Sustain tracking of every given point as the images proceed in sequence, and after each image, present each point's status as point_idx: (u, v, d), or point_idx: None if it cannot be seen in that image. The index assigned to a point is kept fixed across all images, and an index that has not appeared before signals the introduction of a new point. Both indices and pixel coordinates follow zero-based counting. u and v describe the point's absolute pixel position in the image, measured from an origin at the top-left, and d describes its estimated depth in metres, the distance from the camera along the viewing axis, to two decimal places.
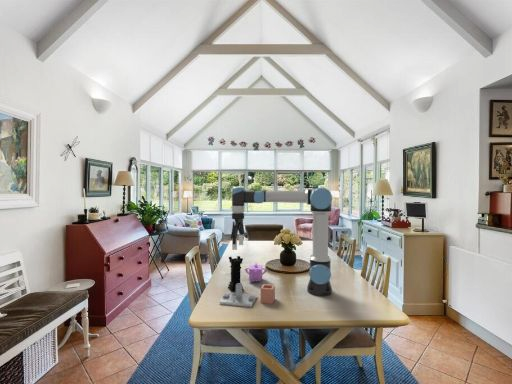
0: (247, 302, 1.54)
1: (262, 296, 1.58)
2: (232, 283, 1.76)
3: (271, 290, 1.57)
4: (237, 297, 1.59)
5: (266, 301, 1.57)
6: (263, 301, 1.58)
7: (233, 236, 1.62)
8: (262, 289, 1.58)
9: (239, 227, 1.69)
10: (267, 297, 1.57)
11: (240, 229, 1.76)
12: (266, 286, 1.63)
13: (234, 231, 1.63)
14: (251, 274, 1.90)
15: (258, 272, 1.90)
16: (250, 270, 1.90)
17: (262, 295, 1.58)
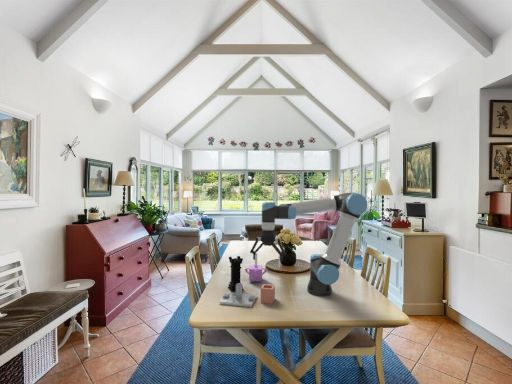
0: (247, 302, 1.54)
1: (262, 296, 1.58)
2: (232, 283, 1.76)
3: (271, 290, 1.57)
4: (237, 297, 1.59)
5: (266, 301, 1.57)
6: (263, 301, 1.58)
7: None
8: (262, 289, 1.58)
9: (262, 244, 1.59)
10: (267, 297, 1.57)
11: None
12: (266, 286, 1.63)
13: (253, 246, 1.62)
14: (251, 274, 1.90)
15: (258, 272, 1.90)
16: (250, 270, 1.90)
17: (262, 295, 1.58)
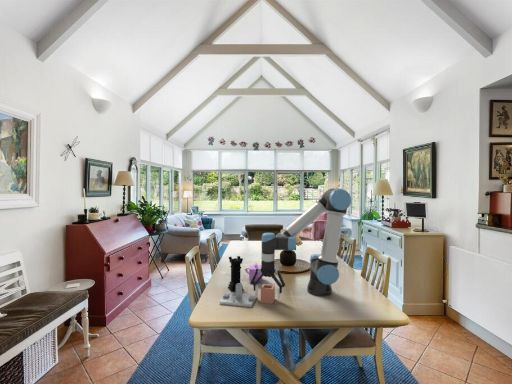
0: (247, 302, 1.54)
1: (262, 296, 1.58)
2: (232, 283, 1.76)
3: (271, 290, 1.57)
4: (237, 297, 1.59)
5: (266, 301, 1.57)
6: (263, 301, 1.58)
7: (251, 281, 1.63)
8: (262, 289, 1.58)
9: (262, 276, 1.59)
10: (267, 297, 1.57)
11: None
12: (266, 286, 1.63)
13: (253, 277, 1.62)
14: (251, 274, 1.90)
15: (258, 272, 1.90)
16: (250, 270, 1.90)
17: (262, 295, 1.58)
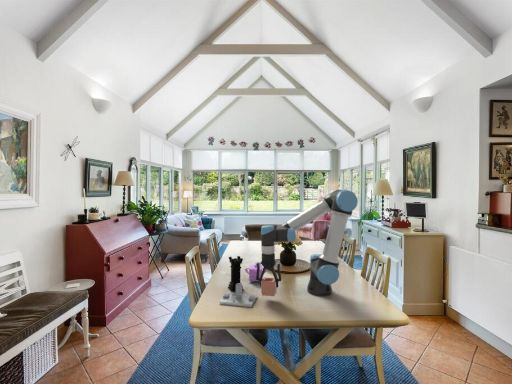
0: (247, 302, 1.54)
1: (263, 289, 1.58)
2: (232, 283, 1.76)
3: (272, 283, 1.57)
4: (237, 297, 1.59)
5: (267, 294, 1.57)
6: (264, 294, 1.58)
7: None
8: (263, 282, 1.58)
9: (264, 269, 1.59)
10: (268, 290, 1.57)
11: None
12: (267, 279, 1.63)
13: None
14: (251, 274, 1.90)
15: None
16: (250, 270, 1.90)
17: (263, 288, 1.58)
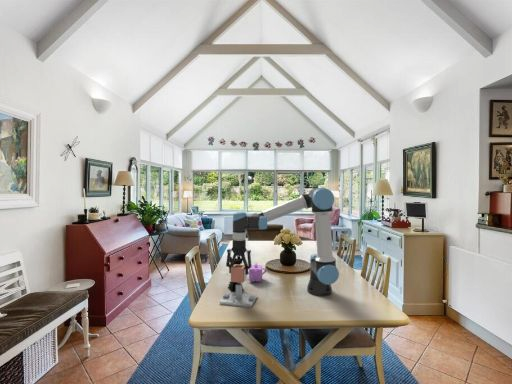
0: (247, 302, 1.54)
1: (232, 275, 1.57)
2: (232, 283, 1.76)
3: (241, 269, 1.56)
4: (237, 297, 1.59)
5: (236, 281, 1.57)
6: (233, 280, 1.57)
7: None
8: (232, 268, 1.57)
9: (235, 255, 1.59)
10: (237, 276, 1.57)
11: None
12: (237, 266, 1.63)
13: None
14: (251, 274, 1.90)
15: (258, 272, 1.90)
16: (250, 270, 1.90)
17: (232, 274, 1.57)
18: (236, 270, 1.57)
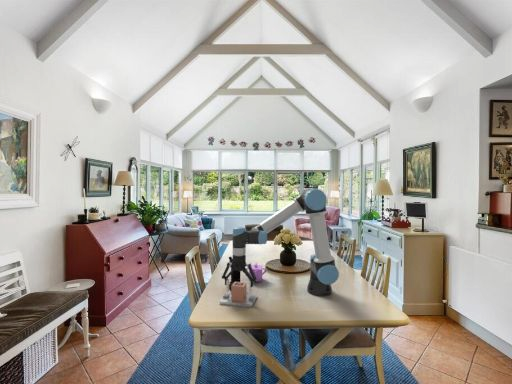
0: (247, 302, 1.54)
1: (233, 293, 1.57)
2: (232, 283, 1.76)
3: (241, 287, 1.56)
4: None
5: (237, 299, 1.57)
6: (234, 298, 1.57)
7: None
8: (233, 286, 1.57)
9: (233, 270, 1.59)
10: (238, 294, 1.57)
11: None
12: None
13: None
14: None
15: (258, 272, 1.90)
16: None
17: (233, 292, 1.57)
18: (236, 288, 1.57)
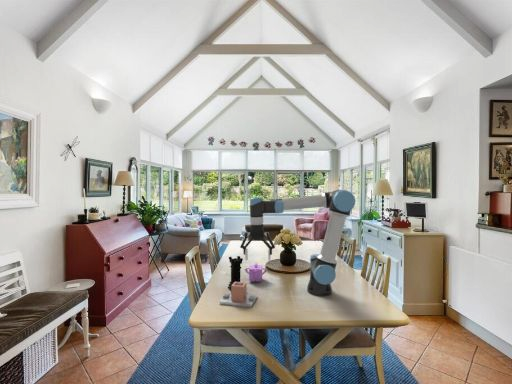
0: (247, 302, 1.54)
1: (233, 293, 1.57)
2: (232, 283, 1.76)
3: (241, 287, 1.56)
4: None
5: (237, 299, 1.57)
6: (234, 298, 1.57)
7: None
8: (233, 286, 1.57)
9: (252, 239, 1.63)
10: (238, 294, 1.57)
11: None
12: None
13: None
14: (251, 274, 1.90)
15: (258, 272, 1.90)
16: (250, 270, 1.90)
17: (233, 292, 1.57)
18: (236, 288, 1.57)
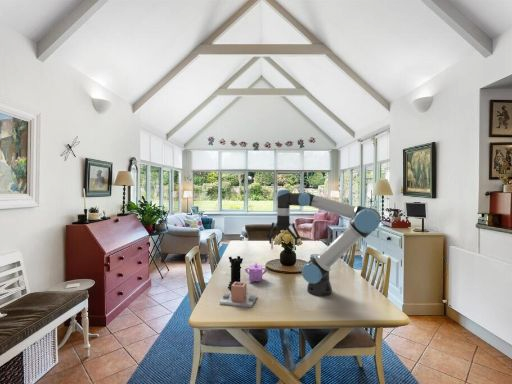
0: (247, 302, 1.54)
1: (233, 293, 1.57)
2: (232, 283, 1.76)
3: (241, 287, 1.56)
4: None
5: (237, 299, 1.57)
6: (234, 298, 1.57)
7: (267, 235, 1.73)
8: (233, 286, 1.57)
9: (278, 229, 1.70)
10: (238, 294, 1.57)
11: None
12: None
13: (269, 231, 1.73)
14: (251, 274, 1.90)
15: (258, 272, 1.90)
16: (250, 270, 1.90)
17: (233, 292, 1.57)
18: (236, 288, 1.57)
